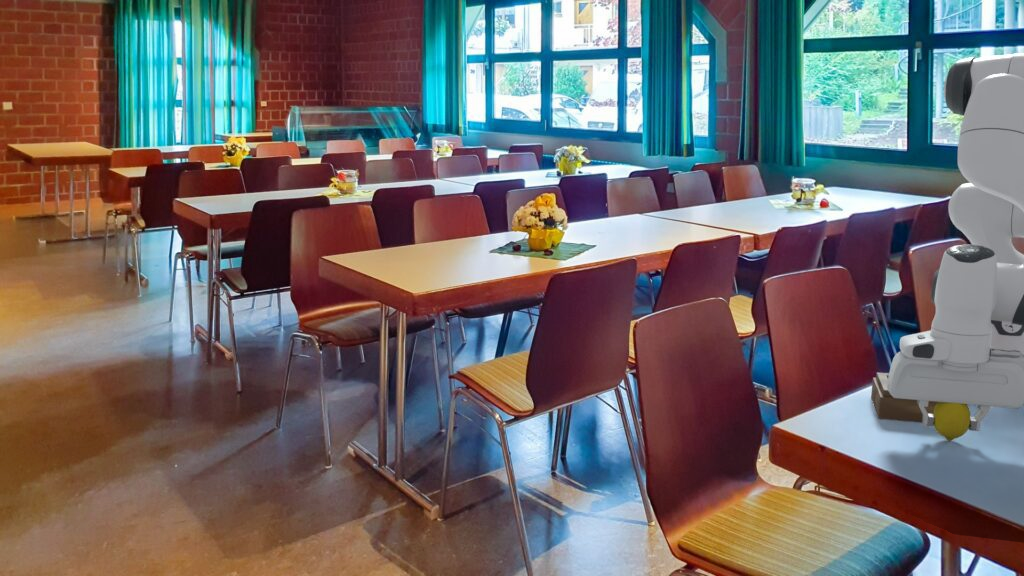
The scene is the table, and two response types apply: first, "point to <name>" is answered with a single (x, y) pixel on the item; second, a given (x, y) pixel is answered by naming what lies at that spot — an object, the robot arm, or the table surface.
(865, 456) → the table surface
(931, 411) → the wooden box
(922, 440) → the table surface
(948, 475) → the table surface
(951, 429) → the lemon
